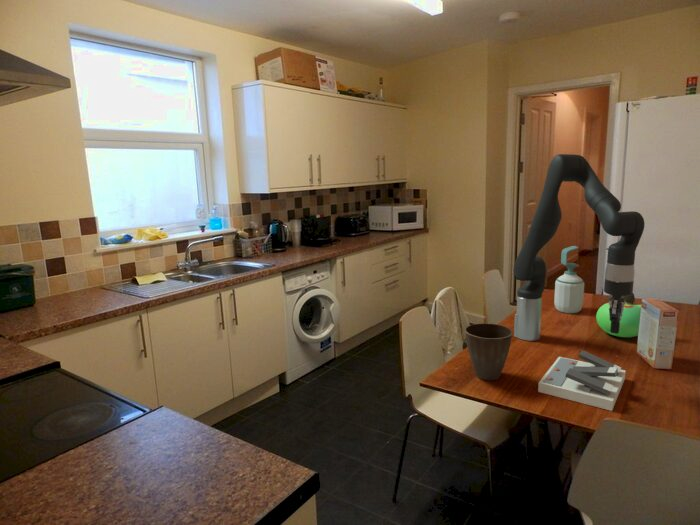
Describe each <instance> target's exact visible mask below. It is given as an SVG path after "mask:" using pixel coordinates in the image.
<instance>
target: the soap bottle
mask: <svg viewBox="0 0 700 525" xmlns="http://www.w3.org/2000/svg"><path fill="white" fill-rule="evenodd" d="M578 249H579V246H577V245H572V246H568V247H565V248H563V249H561V257H560V262H561V264H562V265H563V266H566V269H567V270H565V271H564V273H563V274H562V275H560V276H559V277H557V278H556V280H555V282H554V299H553V300H554V302H553V304H554V307H555V309H556V310H558V312H561V313H563V312H564V314H577V313H579V312H581V310H582V308H583V307H584V306H583V305H584V294H585V281H584V279H583V278H581V277H580V276H578V275H577V271H574V269H575V268H576V267H577V268H578V267H579V266H580V265H579V264H577V263H573V262H572V263H570V262H569V263H568V256H569V255H568V254H569V253H570V252H572V251H575V250H578Z"/></svg>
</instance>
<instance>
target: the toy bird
mask: <svg viewBox="0 0 700 525" xmlns="http://www.w3.org/2000/svg"><path fill="white" fill-rule="evenodd" d="M641 305H642V304H634V303H633V304H630V303H626V302H625V304H624V312H623V314H622V317H621V321H620V328H619V333H618V334H616V333H611V332H610V330H611V321H610V314H609V309H610V305H609V302H607V303H604V304H603V305H601V306H600V307H599V308H598V310H597V312H596V314H595V320H596V323H597V324H598V326H599V327H600V328H601V330H603V331H604V332H606V333H608V334H609V335H610V336H611V335H612V336H613V337H615V336H616V337H618V338H634V337H638V334H639V324H640V315H641Z"/></svg>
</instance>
